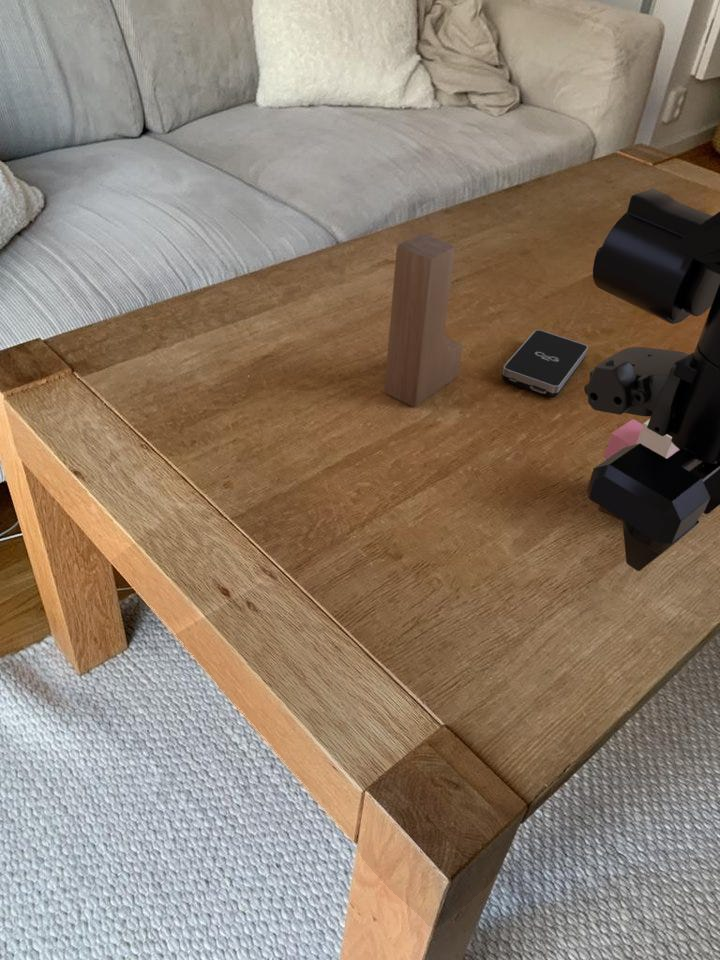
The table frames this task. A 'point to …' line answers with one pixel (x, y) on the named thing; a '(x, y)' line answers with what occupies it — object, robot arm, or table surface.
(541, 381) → the external hard drive
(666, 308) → the robot arm
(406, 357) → the wooden block
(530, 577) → the table surface
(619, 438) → the pink block with cube
